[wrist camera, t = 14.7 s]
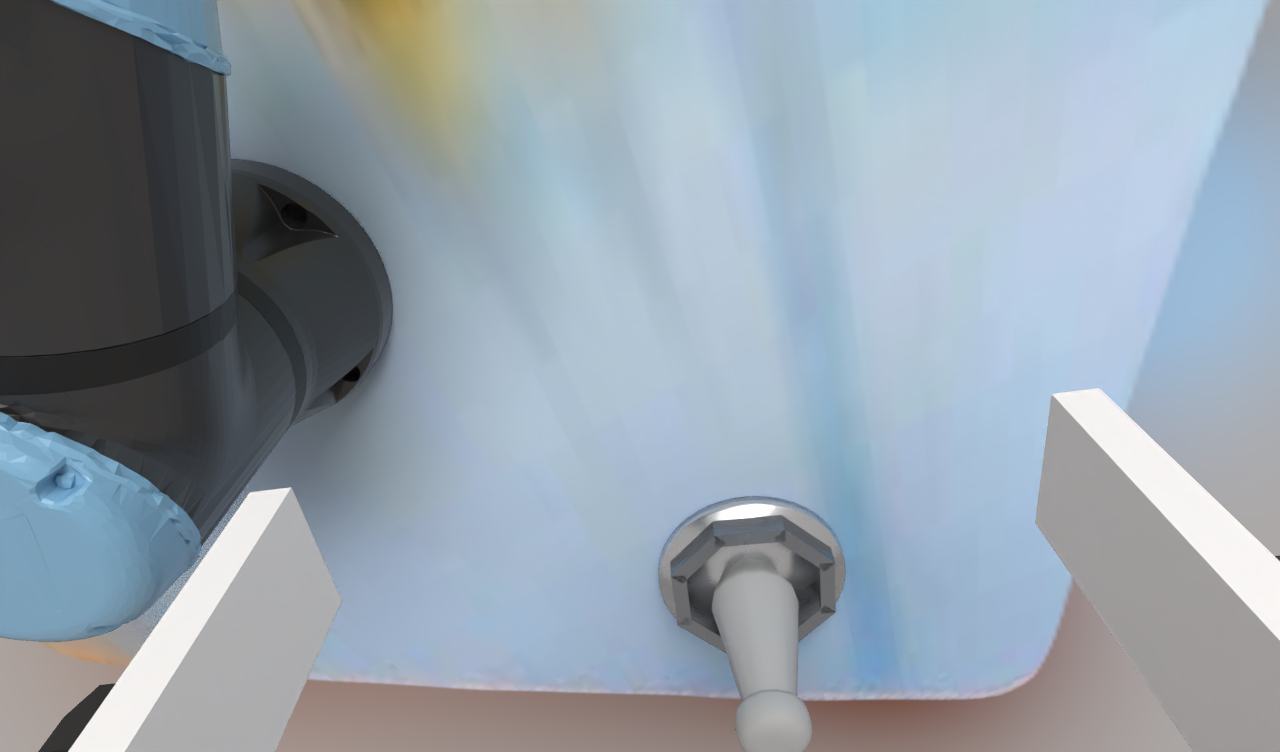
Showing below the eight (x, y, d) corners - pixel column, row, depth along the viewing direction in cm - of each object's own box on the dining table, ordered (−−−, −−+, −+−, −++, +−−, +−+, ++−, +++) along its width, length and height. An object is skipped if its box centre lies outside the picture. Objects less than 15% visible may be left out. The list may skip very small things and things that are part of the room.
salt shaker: (716, 544, 54) (733, 707, 42) (799, 551, 54) (838, 715, 42) (704, 606, 56) (717, 774, 45) (783, 613, 57) (816, 782, 45)
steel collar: (669, 640, 60) (670, 667, 57) (648, 505, 53) (648, 529, 51) (842, 627, 59) (849, 653, 56) (842, 487, 52) (850, 511, 50)
